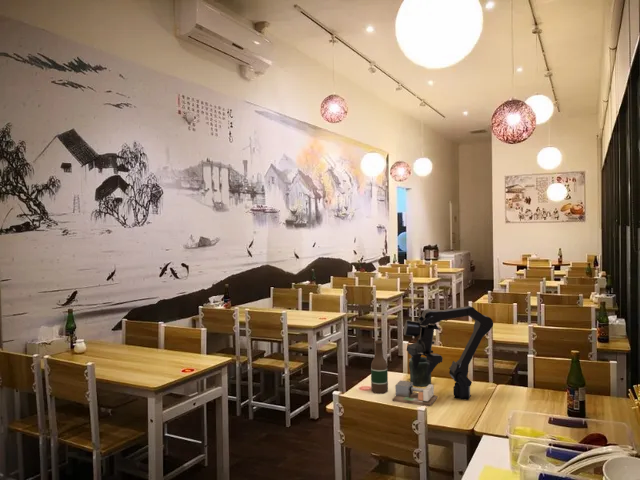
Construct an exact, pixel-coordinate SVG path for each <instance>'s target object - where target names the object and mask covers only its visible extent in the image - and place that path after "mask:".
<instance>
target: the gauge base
mask: <svg viewBox="0 0 640 480" xmlns="http://www.w3.org/2000/svg"><path fill="white" fill-rule="evenodd" d="M418 393H419V392H415V391H413V394H410V397H409V398H408V397H400V396H396V395H395V396H394V397H393V398H392V401H393V402H398V403H405V404H413V405H417V406H419V405H420V406H424V405H425V407H432V405H433V404H434V403H435V402H436V401H437V400H438V395H436V394H434V395H433V396H432V397H431V398H430V400H429V401H422V400H418Z"/></svg>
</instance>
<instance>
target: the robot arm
mask: <svg viewBox="0 0 640 480" xmlns="http://www.w3.org/2000/svg"><path fill="white" fill-rule="evenodd" d="M468 316H469V317H470V318H471V320H474V324H473V331H472V333H471V335H470V337H469V339H468V342H467V343H466V345H465V347H464V349H463V350H462V353H461V355H460V357H459V359H458V360H457V361H454V360H452V363H451V365H450V367H449V368H448V369H449V371H448V372H449V376H450V377H451V378H452V379H453V381H454V386H453V399H456V400H465V401H469V400H470V399H471V397H472V394H471V386H472V384H473V382H472V380H471V379H469V377H468V373H469V366H470V363H471V361H472V359H473V357H474V356H475V353H476V351H477V350H478V347H479V346H480V343H481V341H482V340H483V338H484V337H485V336H486V335H488V333H489V332H490V331H491V329H492V328H493V326H494V320H493V319H492V318H491V317H489V316H487V315H485V314H482V313H481V312H480V311H478V310H477V309H475V308H474V306H471V305H466V306H461V307H455V308H447V309H431V308H430V309H424V310H423V311H422V313H421V315H420V316H419V318H418V319H416V320H415V321H414V320H410V319H406V320H405V323H404V325H403V329H402V330H403V332H402V333H403V335H404V336H407V337H416V338H417V337H418V336H419V338H417V339H416V342H413V343H410V344H408V345H407V346H406V352H407V353H408V355H410V358H412V360H413V366H414V369H417V367H418V364H419V361H420V358H421V357H422V356H423V357H426V358H427V360H426V362H427V364H428V365H427V376H429V375H430V374H431V375H432V372H433V371H434V370H435V368H436V367H437V366H438V365H439V364H440V363H443V356H442V355H440V354H438V353H434V350H432V347H433V345H434V344H435V341H433V340H434V333H435V330H438V331H439V330H440V328H439V326H438V325H437V323H440V322H441V321H444V320H449V319H455V318H461V317H468Z"/></svg>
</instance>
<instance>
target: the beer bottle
mask: <svg viewBox="0 0 640 480" xmlns="http://www.w3.org/2000/svg"><path fill="white" fill-rule="evenodd" d="M374 345H375V346H374V347H375V348H374V357H373V359H372V360H371V364H370V382H371V384H370V387H371V392H372V393H373V394H377V395H382V394H386V393H387V392H388V389H389V385H388V384H389V383H388V382H389V381H388V379H389V377H388V375H389V371H388V364H387V360H386V359H385V358H384V351H383V350H384V349H383V340H380V339H376V340H375V341H374Z"/></svg>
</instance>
